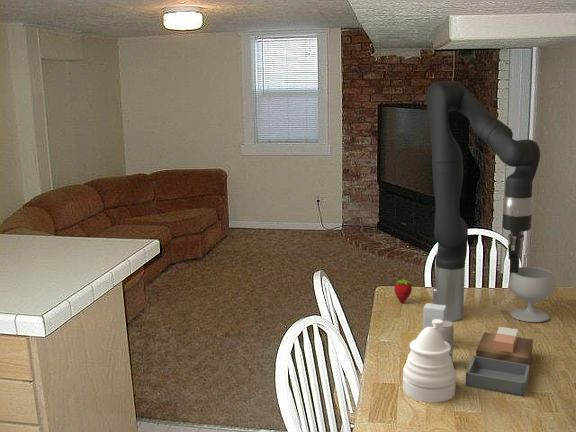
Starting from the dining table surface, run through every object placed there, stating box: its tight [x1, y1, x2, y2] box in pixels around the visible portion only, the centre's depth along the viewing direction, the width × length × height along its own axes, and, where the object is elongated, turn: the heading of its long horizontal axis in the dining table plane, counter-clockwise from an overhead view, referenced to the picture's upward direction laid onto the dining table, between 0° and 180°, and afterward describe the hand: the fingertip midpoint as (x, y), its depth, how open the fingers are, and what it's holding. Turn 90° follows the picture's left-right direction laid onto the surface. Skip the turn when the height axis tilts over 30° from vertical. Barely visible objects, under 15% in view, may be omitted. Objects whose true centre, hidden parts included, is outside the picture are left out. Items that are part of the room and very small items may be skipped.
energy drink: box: [433, 320, 454, 363], centre depth 168 cm, size 5×5×12 cm
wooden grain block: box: [475, 331, 534, 366], centre depth 169 cm, size 13×13×5 cm
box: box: [465, 355, 531, 398], centre depth 159 cm, size 14×11×4 cm
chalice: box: [508, 266, 556, 323], centre depth 200 cm, size 14×14×15 cm
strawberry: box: [393, 276, 413, 304], centre depth 215 cm, size 6×8×10 cm
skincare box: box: [422, 302, 447, 330], centre depth 180 cm, size 6×4×12 cm
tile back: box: [496, 326, 519, 344], centre depth 172 cm, size 5×5×2 cm
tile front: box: [493, 333, 516, 353], centre depth 167 cm, size 5×5×2 cm
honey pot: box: [402, 319, 457, 403], centre depth 154 cm, size 13×13×18 cm
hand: (514, 271), depth 176 cm, fingers closed
